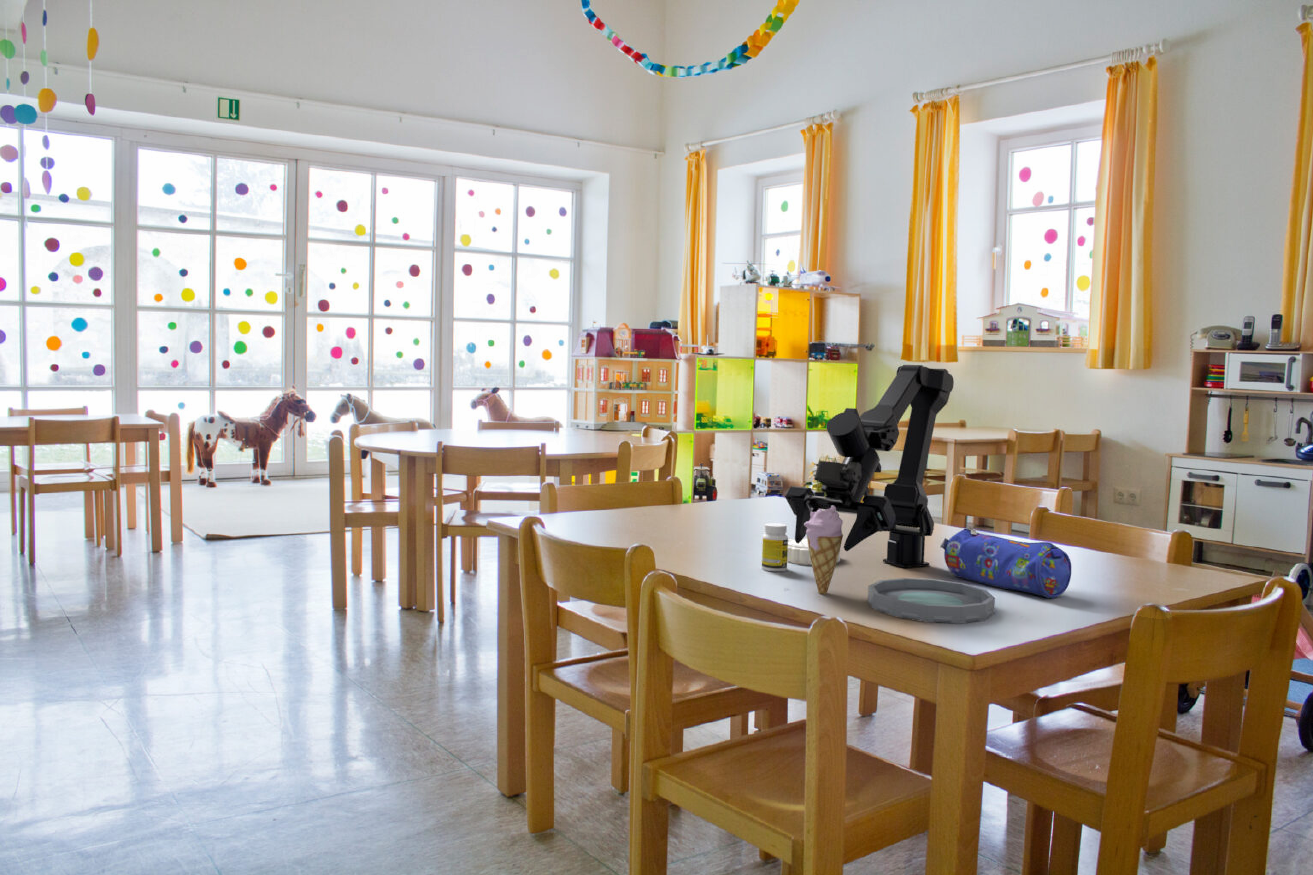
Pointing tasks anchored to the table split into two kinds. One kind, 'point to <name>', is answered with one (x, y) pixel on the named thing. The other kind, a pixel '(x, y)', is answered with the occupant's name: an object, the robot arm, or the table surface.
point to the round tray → (931, 600)
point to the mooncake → (800, 552)
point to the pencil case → (1008, 563)
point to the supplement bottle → (775, 547)
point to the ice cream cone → (824, 544)
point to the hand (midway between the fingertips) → (820, 545)
